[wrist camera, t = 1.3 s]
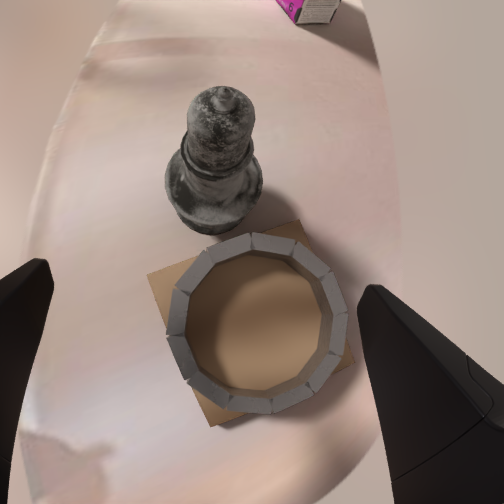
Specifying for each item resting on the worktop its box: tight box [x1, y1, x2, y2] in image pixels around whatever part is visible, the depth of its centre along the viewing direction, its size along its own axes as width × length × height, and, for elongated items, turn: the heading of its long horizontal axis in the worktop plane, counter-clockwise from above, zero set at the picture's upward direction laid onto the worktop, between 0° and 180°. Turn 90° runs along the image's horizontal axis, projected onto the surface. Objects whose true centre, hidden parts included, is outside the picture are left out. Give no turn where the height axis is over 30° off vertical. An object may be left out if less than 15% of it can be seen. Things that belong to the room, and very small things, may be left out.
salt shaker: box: [165, 86, 263, 235], centre depth 16 cm, size 6×6×12 cm
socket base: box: [147, 219, 355, 427], centre depth 19 cm, size 11×11×3 cm
